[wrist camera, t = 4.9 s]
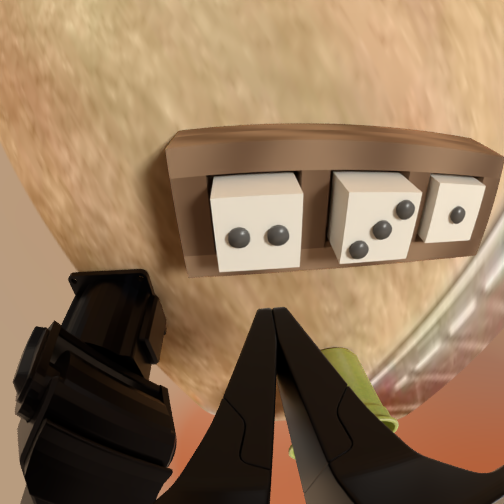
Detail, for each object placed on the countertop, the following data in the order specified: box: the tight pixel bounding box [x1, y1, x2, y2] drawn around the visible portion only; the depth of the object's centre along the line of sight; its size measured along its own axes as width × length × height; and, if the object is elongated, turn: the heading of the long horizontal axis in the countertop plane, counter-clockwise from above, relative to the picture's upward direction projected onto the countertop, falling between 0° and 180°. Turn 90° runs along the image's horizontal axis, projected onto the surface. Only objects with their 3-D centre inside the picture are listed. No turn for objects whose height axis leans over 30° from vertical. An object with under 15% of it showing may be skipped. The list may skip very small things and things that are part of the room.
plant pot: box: [289, 348, 398, 459], centre depth 24 cm, size 9×9×9 cm
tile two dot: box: [210, 172, 303, 272], centre depth 14 cm, size 4×4×3 cm
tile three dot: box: [327, 171, 422, 264], centre depth 14 cm, size 4×4×3 cm
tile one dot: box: [417, 173, 486, 243], centre depth 15 cm, size 4×4×3 cm
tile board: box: [165, 124, 504, 278], centre depth 16 cm, size 18×7×4 cm, turn 92°
